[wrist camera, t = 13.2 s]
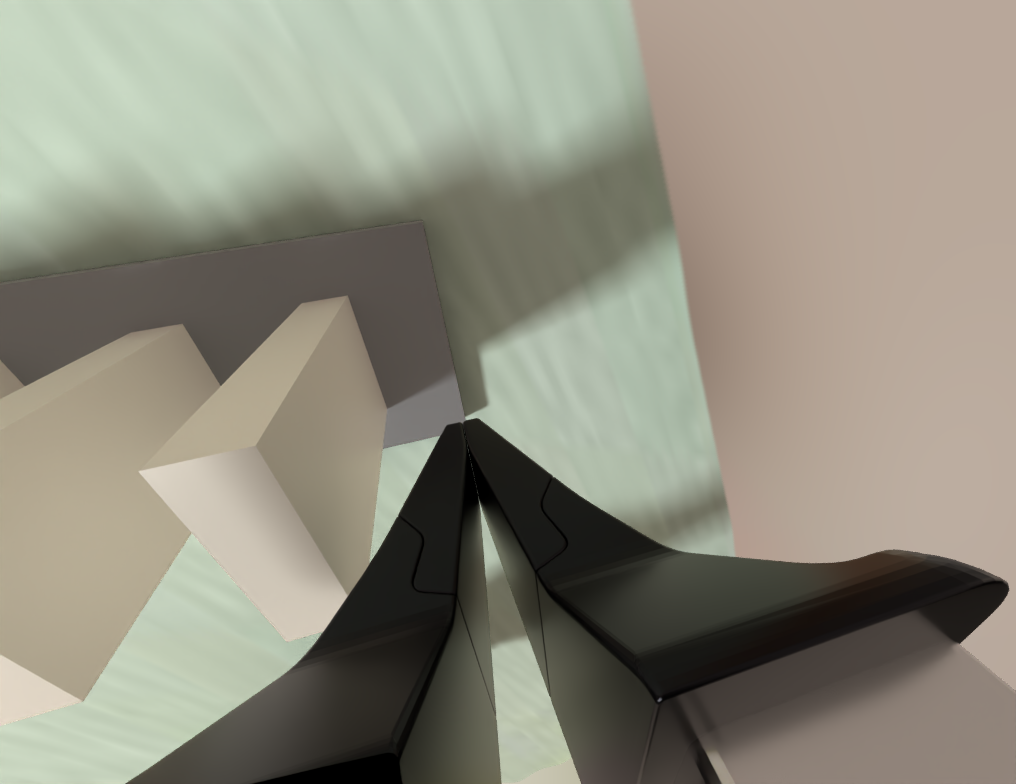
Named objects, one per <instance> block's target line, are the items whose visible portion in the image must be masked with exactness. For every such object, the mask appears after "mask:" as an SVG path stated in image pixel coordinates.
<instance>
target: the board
mask: <svg viewBox="0 0 1016 784" xmlns="http://www.w3.org/2000/svg"><path fill="white" fill-rule="evenodd" d="M347 295H348V298H349V301H350V304H351V306H352V309H353V312H354V315H355V318H356V321H357V324H358V327H359V329H360V332H361V335H362V338H363V341H364V344H365V347H366V350H367V352H368V355H369V358H370V361H371V364H372V367H373V370H374V373H375V375H376V378H377V381H378V384H379V387H380V390H381V393H382V396H383V398H384V401H385V404H386V407H387V415H386V424H385V432H384V441H383V449H384V448H388V447H392V446H397V445H401V444H405V443H410V442H414V441H418V440H423V439H427V438H432V437H436V436H440V435H441V434H442V432H443V430H444V428H445V427H446V425H448V424H453V423H457V422H461V423H462V424H463V422H464V421H466V420H465V415H464V411H463V406H462V401H461V397H460V392H459V387H458V383H457V378H456V374H455V369H454V364H453V360H452V355H451V351H450V346H449V341H448V337H447V332H446V328H445V323H444V318H443V314H442V309H441V304H440V300H439V295H438V291H437V286H436V281H435V277H434V272H433V268H432V263H431V258H430V254H429V249H428V244H427V240H426V235H425V231H424V226H423V222H422V220H419V221H412V222H405V223H399V224H392V225H385V226H378V227H371V228H365V229H358V230H351V231H344V232H338V233H331V234H324V235H317V236H311V237H304V238H297V239H290V240H283V241H277V242H270V243H263V244H256V245H250V246H243V247H236V248H229V249H223V250H216V251H209V252H202V253H195V254H189V255H182V256H175V257H168V258H162V259H155V260H148V261H141V262H135V263H128V264H121V265H114V266H107V267H101V268H94V269H87V270H80V271H74V272H67V273H60V274H53V275H46V276H40V277H33V278H26V279H19V280H13V281H6V282H0V360H1V361H2V362H3V363H4V364H5V366H6V367H7V368H8V369H9V370H10V371H11V372H12V373H13V374H14V375H15V376H16V377H17V378H18V379H19V381H20V382H21V383H22V384H23V385H24V386H27V385H29V384H31V383H33V382H35V381H37V380H39V379H41V378H43V377H44V376H46V375H48V374H50V373H52V372H54V371H56V370H58V369H60V368H62V367H64V366H66V365H68V364H70V363H72V362H74V361H76V360H78V359H80V358H82V357H84V356H86V355H88V354H90V353H92V352H94V351H96V350H98V349H99V348H101V347H103V346H105V345H107V344H109V343H111V342H113V341H115V340H117V339H119V338H121V337H123V336H125V335H127V334H129V333H131V332H137V331H143V330H149V329H155V328H160V327H166V326H172V325H178V324H183V325H184V327H185V328H186V330H187V332H188V333H189V335H190V337H191V338H192V340H193V342H194V343H195V345H196V346H197V348H198V350H199V351H200V353H201V355H202V356H203V358H204V360H205V361H206V363H207V364H208V366H209V368H210V369H211V371H212V373H213V374H214V376H215V378H216V379H217V381H218V382H219V384H220V386H222V385H223V384H224V383H225V382H226V380H227V379H228V378H229V377H230V376H231V375H232V374H233V373H234V372H235V371H236V370H237V369H238V368H239V367H240V366H241V365H242V364H243V363H244V362H245V361H246V360H247V359H248V358H249V357H250V356H251V355H252V354H253V353H254V352H255V351H256V350H257V349H258V348H259V347H260V346H261V345H262V343H263V342H264V341H265V340H266V339H267V338H268V337H269V336H270V335H271V334H272V333H273V332H274V331H275V330H276V329H277V328H278V327H279V326H280V325H281V324H282V323H283V322H284V321H285V320H286V319H287V318H288V317H289V316H290V315H291V314H292V313H293V312H294V311H295V310H296V309H297V308H298V306H299V305H300V304H301V303H306V302H312V301H318V300H324V299H330V298H335V297H341V296H347ZM463 428H464V427H463Z"/></svg>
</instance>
